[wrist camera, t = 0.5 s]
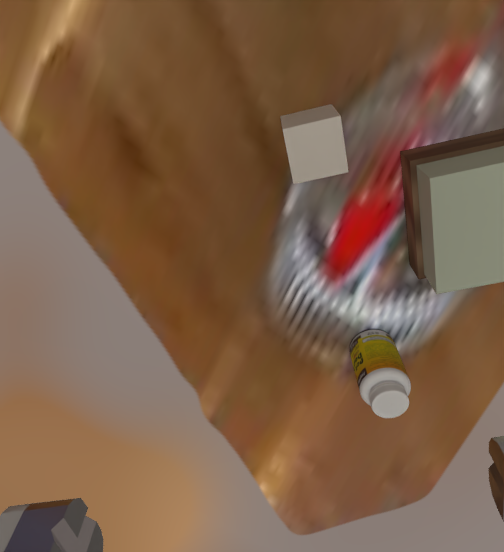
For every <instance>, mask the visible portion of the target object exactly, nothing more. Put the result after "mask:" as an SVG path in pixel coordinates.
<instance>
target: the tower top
mask: <svg viewBox="0 0 504 552" xmlns="http://www.w3.org/2000/svg"><path fill="white" fill-rule="evenodd" d="M416 166H417V180H418V194H419V207H420V221H421V235H422V249H423V263H424V275H425V276H426V278H427V280H428V281H429V283H430V284H431V286H432V287H433V289H434V291H435V292H436V294H440V293H446V292H451V291H456V290H462V289H467V288H472V287H478V286H483V285H488V284H494V283H499V282H504V146H501V147H497V148H492V149H488V150H483V151H479V152H474V153H470V154H465V155H461V156H456V157H452V158H447V159H443V160H438V161H434V162H429V163H425V164H420V165H416Z"/></svg>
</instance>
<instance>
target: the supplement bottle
mask: <svg viewBox="0 0 504 552" xmlns="http://www.w3.org/2000/svg"><path fill="white" fill-rule="evenodd" d="M350 355H351V359H352V363H353V367H354V371H355V375H356V379H357V383H358V387H359V391H360V394H361V397H362V399H363V400H364V401H365V402H366V403H367V404H369V405H370V406H371V407H372V410H373V412H374V413H375V414H376V415H378V416H380V417H383V418H394V417H397V416H399V415H401V414H403V413H404V412H405V411H406V410H407V408H408V406H409V399H408V395H409V393H410V390H411V384H410V380H409V377H408V375H407V373H406V370H405V368H404V365H403V363H402V360H401V358H400V355H399V353H398V350H397V348H396V345H395V343H394V341H393V339H392V337H391V336H390V335H389V334H387V333H386V332H384V331H381V330H367V331H364V332H362V333H360V334H358V335H357V336H356V337H355V338H354V339H353V341H352V342H351V345H350Z"/></svg>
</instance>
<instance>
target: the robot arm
mask: <svg viewBox="0 0 504 552" xmlns="http://www.w3.org/2000/svg"><path fill="white" fill-rule="evenodd" d="M489 453H490V455H491V457H492V459H493V461H494V463H493V464H492V465H491V466H490V467H489V482H490V487H491V491H492V495H493V498H494V501H495V503H496V506H497V509H498V511H499V513H500V515H501V517H502V519H503V521H504V436H500V437H494V438H491V440H490V442H489ZM87 509H88V507H87V506H86V505H85V503H84V502H83V500H82V499H81V498H77V499H68V500H59V501H50V502H42V503H32V504H25V505H17V506H10V507H8V508H7V509H6V510H5V511H4V512H3V513H2V514H1V516H0V552H103V536H102V532H101V529H100V527H99V525H98V524H97V522H96V521H94V520H92V519H91V518H89V517H87V516H85V515H86V512H87Z"/></svg>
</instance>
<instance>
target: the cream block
mask: <svg viewBox="0 0 504 552" xmlns="http://www.w3.org/2000/svg"><path fill="white" fill-rule="evenodd" d="M280 118H281V124H282V129H283V134H284V139H285V144H286V149H287V154H288V159H289V164H290V169H291V174H292V179H293V184H297V183H302V182H306V181H311V180H315V179H320V178H325V177H329V176H334V175H338V174H343V173H347V172H348V165H347V158H346V151H345V143H344V136H343V129H342V122H341V116H340V114H339V113H338V112H337V110H336V109H335V108H334V107H333V105H332V104H330V105H325V106H321V107H317V108H313V109H309V110H304V111H300V112H296V113H292V114H288V115H283V116H280Z"/></svg>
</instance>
